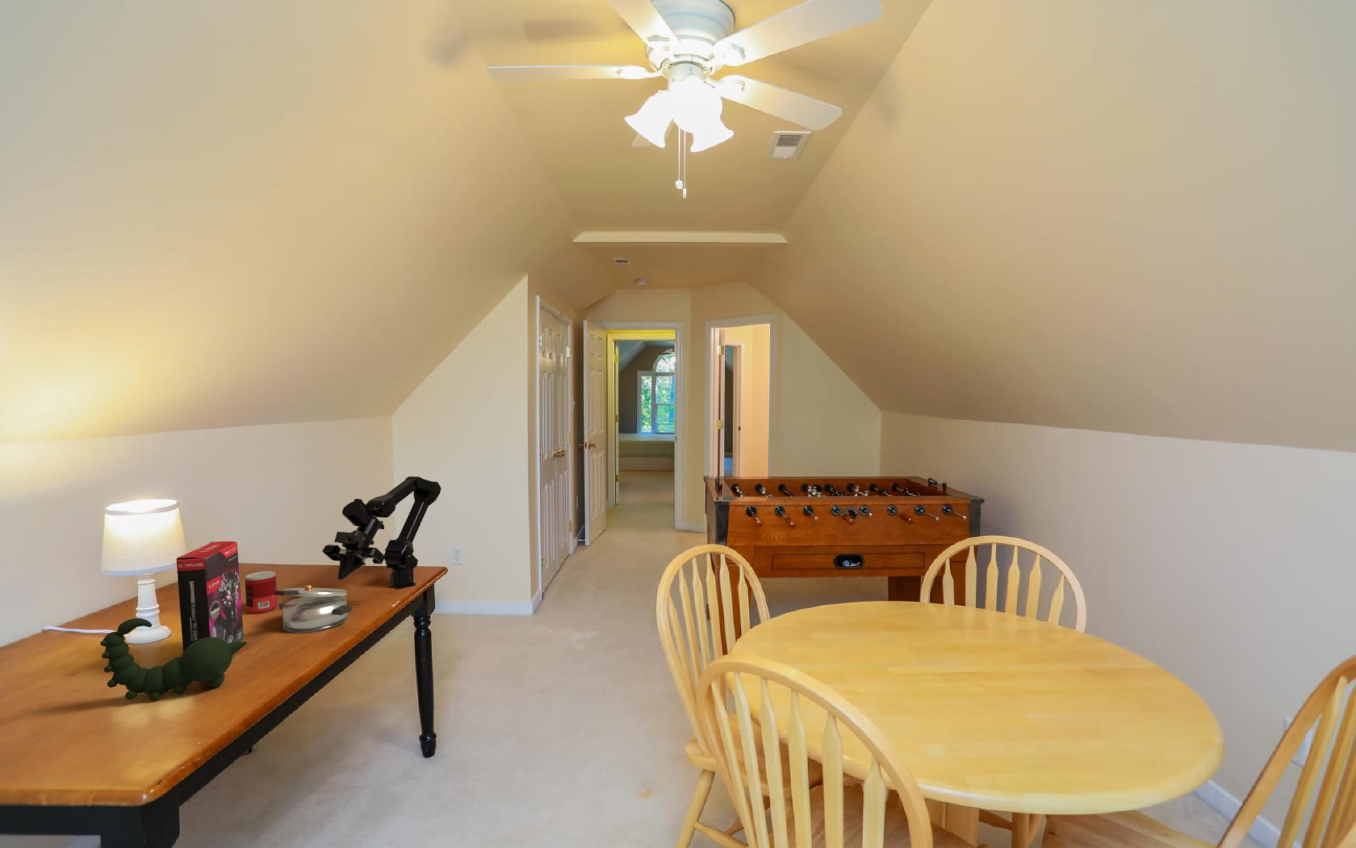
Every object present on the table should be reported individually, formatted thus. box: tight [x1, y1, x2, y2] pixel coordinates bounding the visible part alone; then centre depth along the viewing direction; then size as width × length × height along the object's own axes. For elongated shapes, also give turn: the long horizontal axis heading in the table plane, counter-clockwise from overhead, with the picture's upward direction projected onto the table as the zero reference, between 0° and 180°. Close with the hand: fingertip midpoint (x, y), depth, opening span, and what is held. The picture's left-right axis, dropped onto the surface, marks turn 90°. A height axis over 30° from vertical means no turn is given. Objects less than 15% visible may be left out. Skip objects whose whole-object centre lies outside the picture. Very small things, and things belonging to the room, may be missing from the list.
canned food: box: [244, 570, 278, 615], centre depth 197 cm, size 8×8×11 cm
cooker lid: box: [274, 584, 348, 597], centre depth 184 cm, size 21×16×3 cm
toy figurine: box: [99, 617, 248, 702], centre depth 143 cm, size 9×19×25 cm
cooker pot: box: [278, 595, 353, 634], centre depth 186 cm, size 16×22×6 cm
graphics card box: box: [175, 540, 245, 654], centre depth 163 cm, size 17×7×27 cm, turn 12°
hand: (339, 579), depth 194 cm, fingers closed
